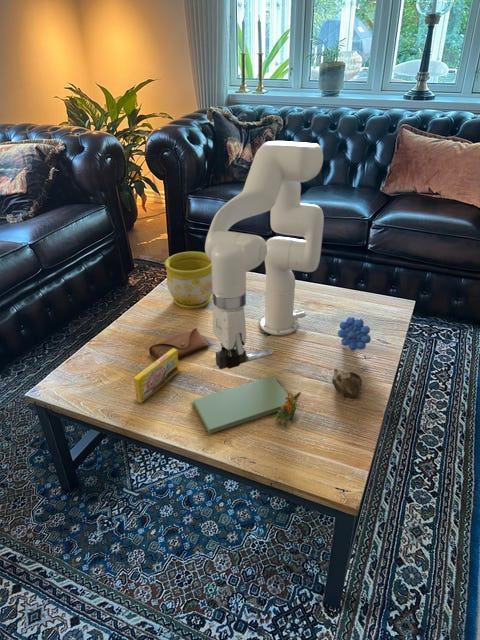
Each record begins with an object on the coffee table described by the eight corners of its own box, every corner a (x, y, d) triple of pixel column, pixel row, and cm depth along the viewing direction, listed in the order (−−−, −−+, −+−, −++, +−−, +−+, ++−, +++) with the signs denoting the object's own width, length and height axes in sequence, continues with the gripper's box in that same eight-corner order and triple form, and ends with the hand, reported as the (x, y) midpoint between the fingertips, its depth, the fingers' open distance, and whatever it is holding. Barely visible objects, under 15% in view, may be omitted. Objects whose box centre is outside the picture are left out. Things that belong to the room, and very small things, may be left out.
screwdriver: (220, 369, 108) (219, 357, 106) (216, 363, 110) (215, 352, 108) (275, 354, 113) (275, 342, 111) (270, 348, 115) (270, 337, 113)
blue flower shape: (375, 352, 138) (381, 320, 131) (362, 361, 134) (368, 327, 128) (345, 337, 145) (350, 305, 139) (332, 344, 141) (336, 312, 135)
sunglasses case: (163, 366, 131) (155, 346, 130) (154, 367, 137) (146, 347, 136) (212, 344, 141) (204, 325, 140) (201, 345, 147) (194, 327, 146)
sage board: (272, 379, 127) (272, 375, 126) (293, 406, 117) (294, 401, 116) (193, 403, 118) (193, 399, 117) (209, 434, 109) (209, 429, 108)
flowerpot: (175, 288, 175) (172, 250, 167) (220, 291, 173) (219, 252, 165) (163, 311, 160) (158, 270, 152) (211, 314, 158) (209, 273, 149)
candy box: (142, 404, 118) (138, 380, 114) (136, 401, 119) (132, 377, 115) (179, 372, 130) (177, 349, 126) (174, 369, 131) (171, 347, 127)
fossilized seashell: (328, 368, 127) (327, 396, 119) (343, 356, 123) (343, 383, 115) (349, 380, 128) (350, 407, 121) (365, 368, 124) (366, 396, 117)
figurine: (270, 429, 110) (271, 405, 106) (294, 403, 118) (296, 379, 114) (281, 435, 108) (283, 410, 104) (305, 407, 117) (307, 383, 112)
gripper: (201, 286, 105) (205, 349, 115) (228, 318, 93) (229, 386, 102) (230, 280, 108) (231, 342, 117) (260, 310, 95) (258, 377, 105)
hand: (230, 362), depth 110 cm, fingers closed on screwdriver, 2 cm apart
